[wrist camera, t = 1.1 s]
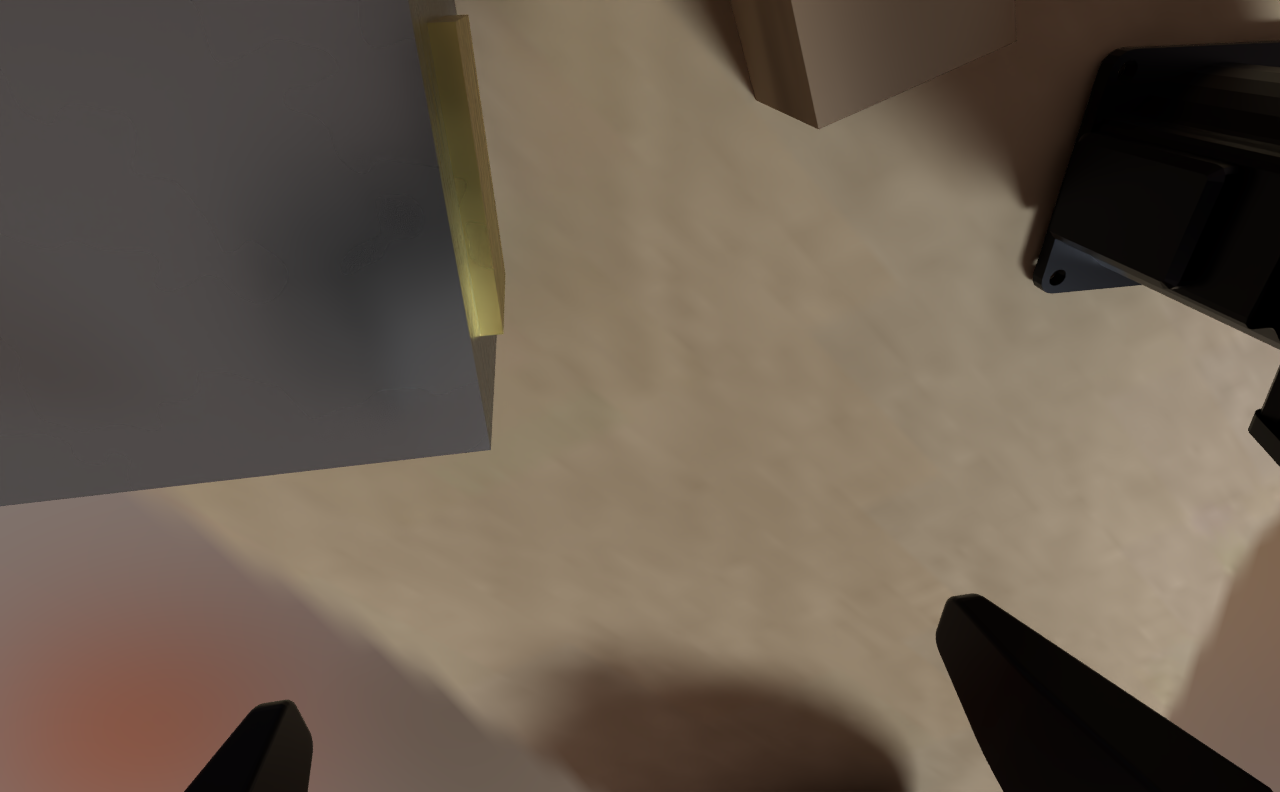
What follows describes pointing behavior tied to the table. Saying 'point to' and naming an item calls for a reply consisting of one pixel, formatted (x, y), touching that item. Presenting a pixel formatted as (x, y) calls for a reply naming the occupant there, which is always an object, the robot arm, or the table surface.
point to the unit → (240, 241)
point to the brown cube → (860, 48)
